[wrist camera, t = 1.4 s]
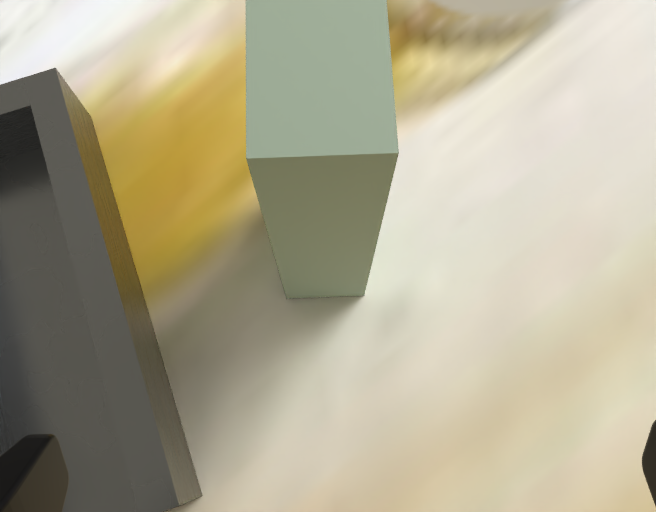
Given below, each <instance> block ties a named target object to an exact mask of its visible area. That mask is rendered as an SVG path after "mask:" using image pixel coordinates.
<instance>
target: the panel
mask: <svg viewBox="0 0 656 512" xmlns="http://www.w3.org/2000/svg"><path fill="white" fill-rule="evenodd" d="M398 153H399V152H398V139H397V126H396V114H395V101H394V89H393V76H392V63H391V51H390V38H389V26H388V13H387V0H246V159H247V163H248V166H249V170H250V173H251V177H252V180H253V184H254V187H255V191H256V194H257V197H258V201H259V204H260V208H261V211H262V215H263V218H264V222H265V225H266V229H267V232H268V236H269V239H270V243H271V246H272V250H273V253H274V257H275V260H276V264H277V267H278V271H279V274H280V277H281V281H282V284H283V288H284V291H285V295H286V298H287V299H290V298H316V297H341V296H364V294H365V290H366V285H367V281H368V277H369V273H370V269H371V265H372V261H373V257H374V252H375V248H376V244H377V240H378V236H379V232H380V228H381V224H382V219H383V215H384V211H385V207H386V203H387V199H388V195H389V191H390V186H391V182H392V178H393V174H394V170H395V166H396V162H397V158H398Z"/></svg>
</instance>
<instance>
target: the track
mask: <svg viewBox="0 0 656 512" xmlns="http://www.w3.org/2000/svg"><path fill="white" fill-rule="evenodd" d="M30 434H53V435H55V436H56V437H57V438H58V440H59V443H60V446H61V450H62V453H63V456H64V459H65V462H66V466H67V469H68V473H69V484H68V490H67V494H66V498H65V502H64V506H63V510H62V512H164V511H167V510H169V509H172V508H175V507H177V506H180V505H182V504H184V503H187V502H189V501H192V500H194V499H196V498H199V497H201V496H202V493H201V490H200V486H199V483H198V480H197V476H196V473H195V469H194V466H193V463H192V459H191V456H190V452H189V449H188V446H187V442H186V439H185V435H184V432H183V428H182V425H181V422H180V418H179V415H178V411H177V408H176V405H175V401H174V398H173V394H172V391H171V388H170V384H169V381H168V377H167V374H166V371H165V367H164V364H163V360H162V357H161V354H160V350H159V347H158V343H157V340H156V337H155V333H154V330H153V326H152V323H151V320H150V316H149V313H148V309H147V306H146V303H145V299H144V296H143V292H142V289H141V285H140V282H139V279H138V275H137V272H136V268H135V265H134V262H133V258H132V255H131V251H130V248H129V245H128V241H127V238H126V234H125V231H124V228H123V224H122V221H121V217H120V214H119V211H118V207H117V204H116V200H115V197H114V194H113V190H112V187H111V183H110V180H109V177H108V173H107V170H106V166H105V163H104V160H103V156H102V153H101V149H100V146H99V142H98V139H97V136H96V132H95V129H94V125H93V122H92V119H91V116H90V115H89V113H88V112H87V110H86V109H85V108H84V106H83V105H82V104H81V102H80V101H79V99H78V98H77V97H76V95H75V94H74V93H73V91H72V90H71V88H70V87H69V86H68V84H67V83H66V82H65V80H64V79H63V77H62V76H61V75H60V73H59V72H58V71H57V69H56V68H53V69H50V70H47V71H44V72H40V73H37V74H34V75H31V76H27V77H24V78H21V79H18V80H14V81H11V82H8V83H5V84H1V85H0V456H1V455H2V454H3V453H4V452H6V451H7V450H8V449H9V448H10V447H12V446H13V445H14V444H15V443H17V442H18V441H19V440H20V439H21V438H23V437H24V436H26V435H30Z"/></svg>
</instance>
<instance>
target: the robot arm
mask: <svg viewBox="0 0 656 512" xmlns="http://www.w3.org/2000/svg"><path fill="white" fill-rule="evenodd" d="M642 467H643V472H644V475H645V478H646V481H647V484H648V486H649V489H650V492H651V495H652V498H653V500H654V503H655V506H656V420H655V421H654V422H653V424H652V427H651V430H650V433H649V437H648V440H647V443H646V446H645V449H644V452H643V456H642ZM68 484H69V473H68V469H67V466H66V462H65V459H64V456H63V453H62V450H61V446H60V443H59V440H58V438H57V437H56V436H55V435H53V434H30V435H26V436H24V437H23V438H21V439H20V440H19V441H18V442H17V443H15V444H14V445H13V446H12V447H10V448H9V449H8V450H7V451H6V452H4V453H3V454H2V455H1V456H0V512H62V510H63V506H64V502H65V498H66V494H67V490H68Z"/></svg>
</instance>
